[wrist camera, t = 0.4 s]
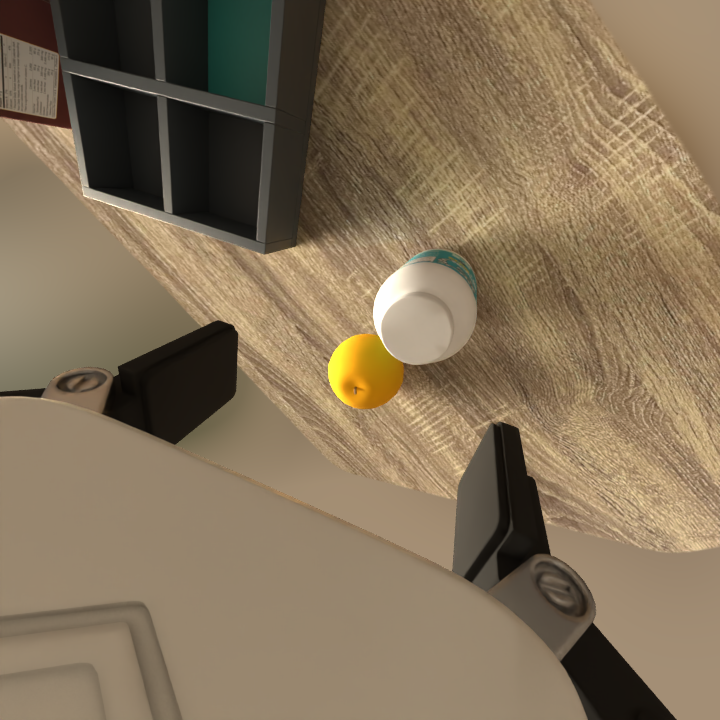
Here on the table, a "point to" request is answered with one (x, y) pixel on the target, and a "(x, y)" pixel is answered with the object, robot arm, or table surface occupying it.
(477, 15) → the table surface
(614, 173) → the table surface
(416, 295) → the pill bottle
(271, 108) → the divided storage tray
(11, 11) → the supplement box
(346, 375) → the apple
